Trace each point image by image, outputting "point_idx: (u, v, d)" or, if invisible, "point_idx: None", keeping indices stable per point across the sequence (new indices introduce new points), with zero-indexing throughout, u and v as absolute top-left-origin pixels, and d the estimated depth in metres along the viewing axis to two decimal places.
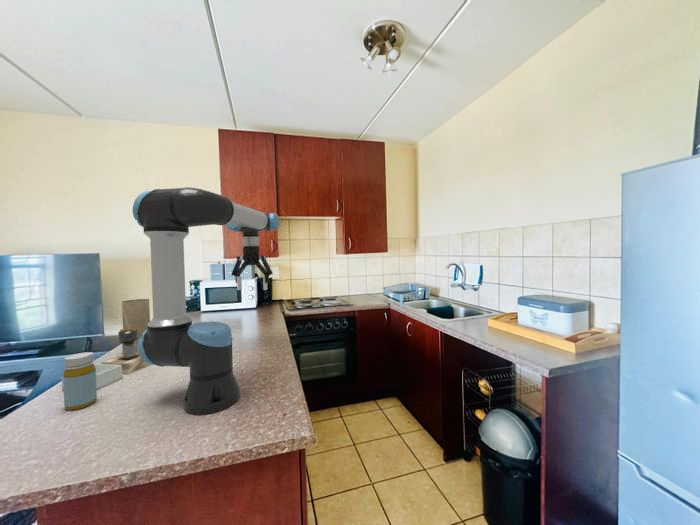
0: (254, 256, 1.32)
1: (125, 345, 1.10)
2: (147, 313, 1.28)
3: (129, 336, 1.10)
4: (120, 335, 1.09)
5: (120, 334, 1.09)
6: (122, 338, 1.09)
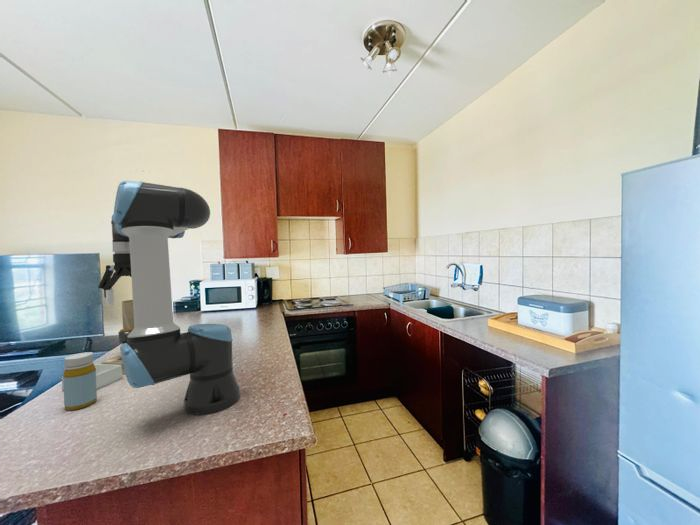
0: (128, 265, 1.11)
1: None
2: None
3: None
4: (120, 335, 1.09)
5: (120, 334, 1.09)
6: (122, 338, 1.09)
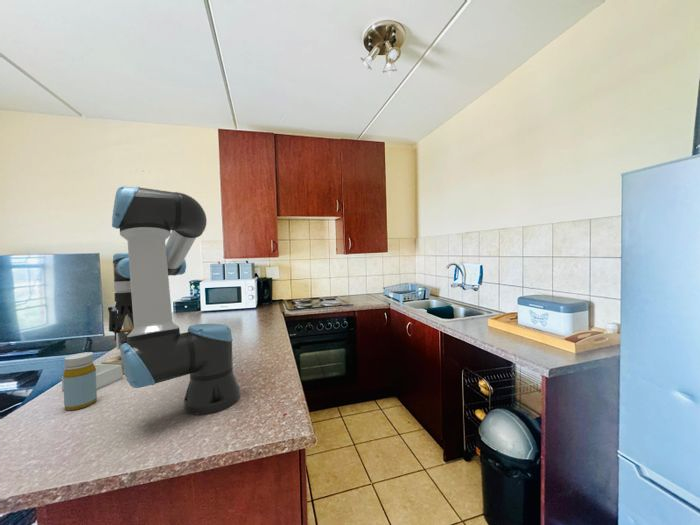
0: (131, 303, 1.11)
1: None
2: None
3: None
4: (120, 335, 1.09)
5: (120, 334, 1.09)
6: (122, 338, 1.09)
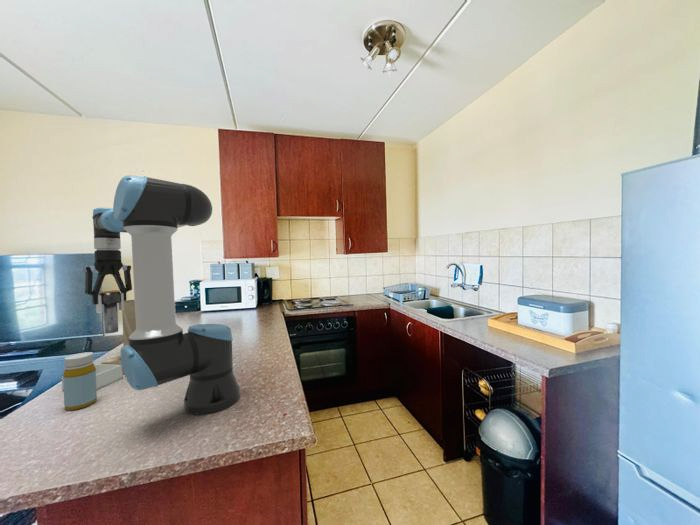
0: None
1: None
2: None
3: None
4: None
5: None
6: None
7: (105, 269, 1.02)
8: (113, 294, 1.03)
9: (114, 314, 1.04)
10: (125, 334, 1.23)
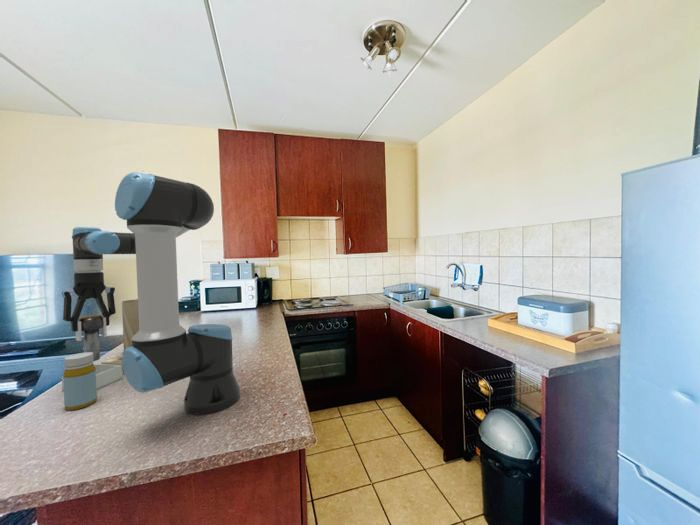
0: None
1: None
2: None
3: None
4: None
5: None
6: None
7: (86, 293, 0.94)
8: (94, 320, 0.95)
9: (95, 341, 0.97)
10: (125, 334, 1.23)
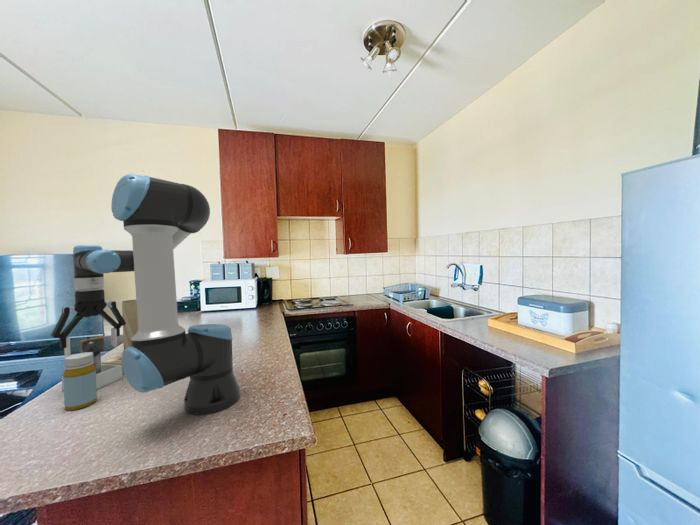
0: None
1: None
2: None
3: None
4: None
5: None
6: None
7: (85, 311, 0.94)
8: (96, 343, 0.96)
9: (97, 364, 0.97)
10: (125, 334, 1.23)
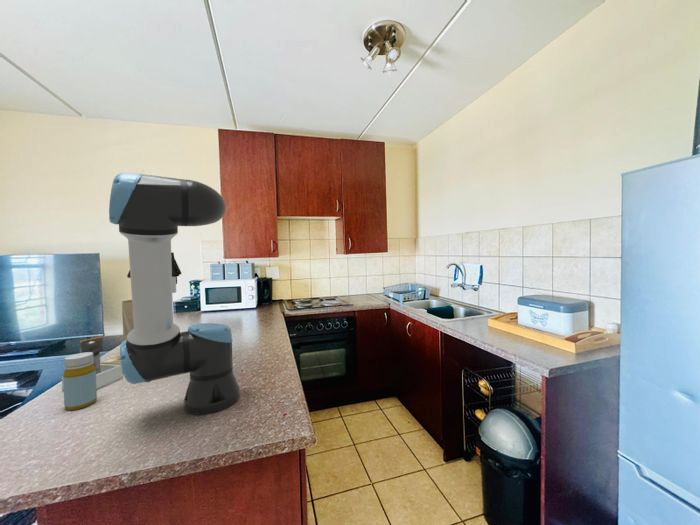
0: None
1: None
2: None
3: None
4: None
5: None
6: None
7: None
8: (95, 343, 0.95)
9: (97, 364, 0.97)
10: (125, 334, 1.23)
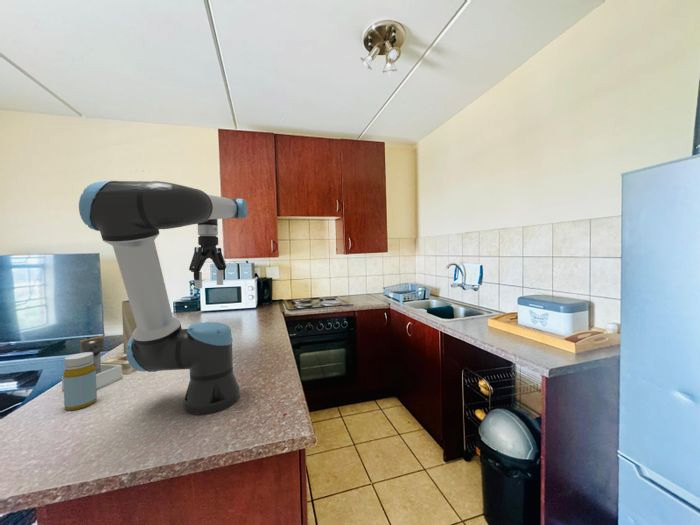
0: None
1: None
2: None
3: None
4: None
5: None
6: None
7: (209, 252, 1.14)
8: (96, 343, 0.96)
9: (97, 364, 0.97)
10: (125, 334, 1.23)
